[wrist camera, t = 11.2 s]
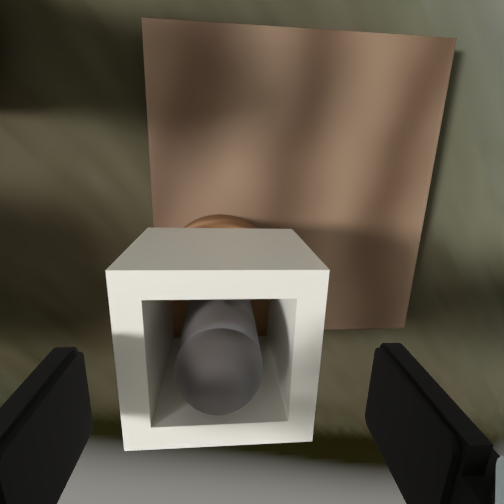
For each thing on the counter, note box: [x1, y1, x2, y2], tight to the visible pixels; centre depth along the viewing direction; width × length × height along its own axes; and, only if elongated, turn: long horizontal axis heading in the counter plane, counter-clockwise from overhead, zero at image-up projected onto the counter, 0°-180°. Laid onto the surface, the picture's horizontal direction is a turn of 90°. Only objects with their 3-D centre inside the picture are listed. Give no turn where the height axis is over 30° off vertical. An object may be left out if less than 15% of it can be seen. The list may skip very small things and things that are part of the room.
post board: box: [141, 18, 457, 415], centre depth 15 cm, size 17×18×13 cm
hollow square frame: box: [105, 228, 330, 451], centre depth 14 cm, size 7×7×6 cm
